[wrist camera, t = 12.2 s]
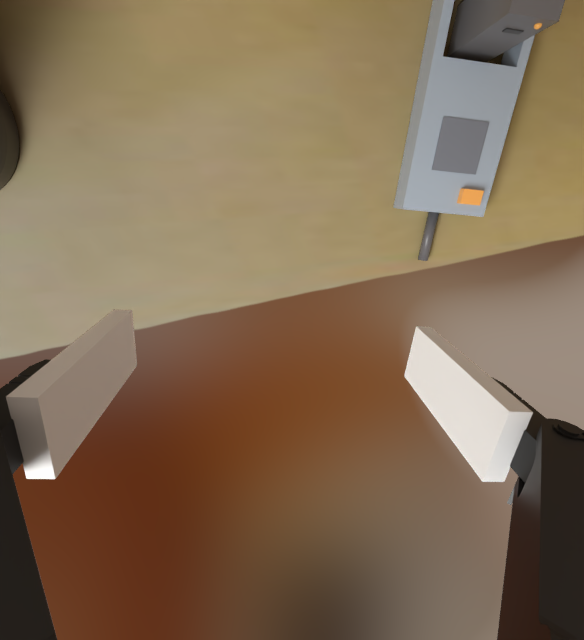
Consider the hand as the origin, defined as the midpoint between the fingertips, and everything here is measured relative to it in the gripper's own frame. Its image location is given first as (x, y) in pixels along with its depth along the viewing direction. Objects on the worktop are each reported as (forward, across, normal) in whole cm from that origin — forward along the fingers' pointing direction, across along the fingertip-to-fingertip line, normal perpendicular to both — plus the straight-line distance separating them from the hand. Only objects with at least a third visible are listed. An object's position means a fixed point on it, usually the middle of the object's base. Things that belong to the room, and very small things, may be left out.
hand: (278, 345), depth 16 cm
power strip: (+29, +20, +15) cm, 38 cm away
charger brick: (+29, +20, +24) cm, 42 cm away
